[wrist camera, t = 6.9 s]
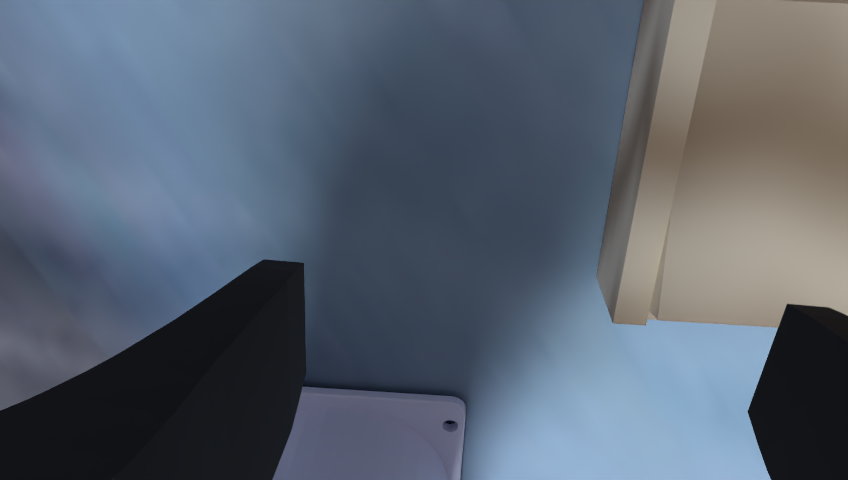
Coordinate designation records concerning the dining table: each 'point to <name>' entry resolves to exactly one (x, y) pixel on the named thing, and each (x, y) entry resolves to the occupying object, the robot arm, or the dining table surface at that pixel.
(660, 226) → the tray
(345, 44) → the dining table surface
